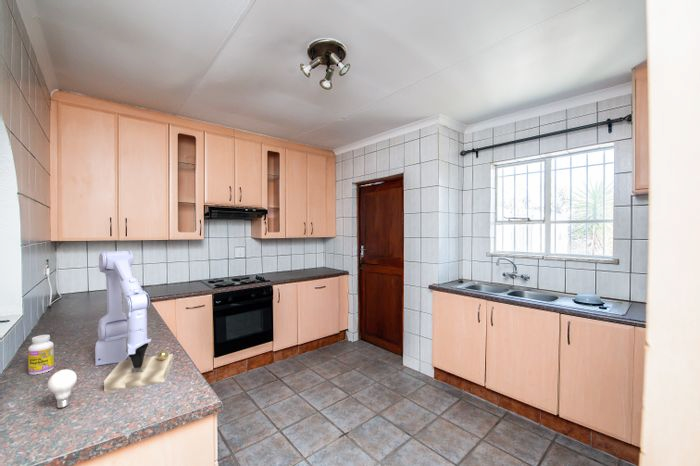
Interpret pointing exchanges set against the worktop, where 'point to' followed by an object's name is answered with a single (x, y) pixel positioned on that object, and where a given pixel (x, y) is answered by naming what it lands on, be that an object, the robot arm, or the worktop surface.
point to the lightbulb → (62, 386)
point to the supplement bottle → (40, 355)
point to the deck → (151, 373)
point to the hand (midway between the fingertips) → (138, 367)
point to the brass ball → (162, 355)
